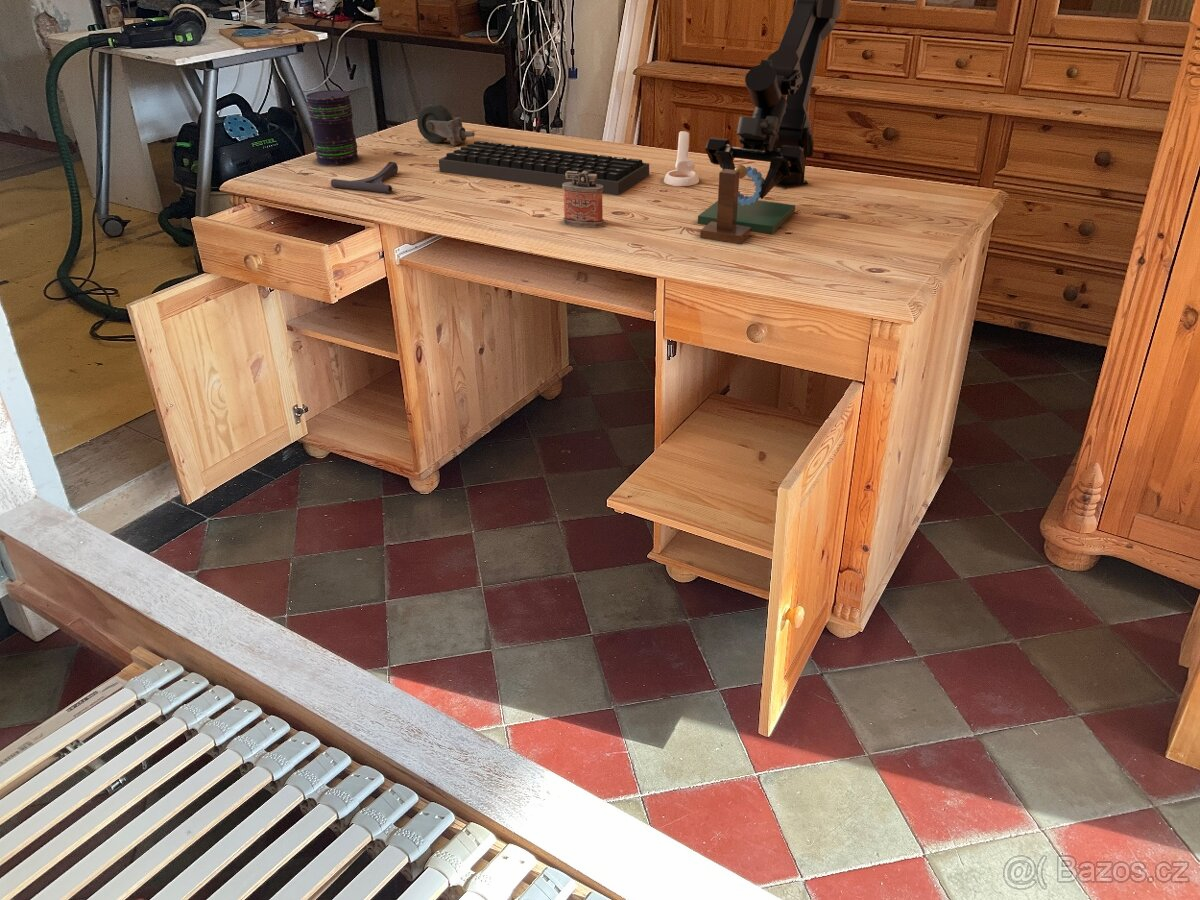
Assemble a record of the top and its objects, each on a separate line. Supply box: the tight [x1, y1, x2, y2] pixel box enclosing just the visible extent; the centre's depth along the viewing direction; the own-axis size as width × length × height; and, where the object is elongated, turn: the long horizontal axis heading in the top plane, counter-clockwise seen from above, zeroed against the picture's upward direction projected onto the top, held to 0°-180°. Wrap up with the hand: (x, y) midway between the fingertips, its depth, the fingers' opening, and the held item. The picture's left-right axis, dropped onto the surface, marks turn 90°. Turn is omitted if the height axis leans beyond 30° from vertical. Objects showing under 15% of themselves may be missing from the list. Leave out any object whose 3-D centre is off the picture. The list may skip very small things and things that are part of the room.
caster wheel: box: [416, 103, 476, 147], centre depth 240 cm, size 6×10×15 cm
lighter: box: [562, 171, 605, 228], centre depth 186 cm, size 8×3×10 cm, turn 71°
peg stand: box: [699, 164, 752, 245], centre depth 180 cm, size 10×8×12 cm
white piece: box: [663, 130, 700, 187], centre depth 212 cm, size 8×12×7 cm
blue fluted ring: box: [738, 165, 765, 206], centre depth 185 cm, size 2×7×7 cm, turn 63°
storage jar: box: [305, 89, 359, 167], centre depth 227 cm, size 10×10×15 cm
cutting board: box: [697, 199, 796, 235], centre depth 190 cm, size 14×15×2 cm
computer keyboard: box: [438, 140, 650, 196], centre depth 217 cm, size 45×16×4 cm, turn 64°
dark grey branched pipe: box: [330, 161, 399, 194], centre depth 214 cm, size 14×15×3 cm
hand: (742, 195), depth 185 cm, fingers closed on blue fluted ring, 7 cm apart
